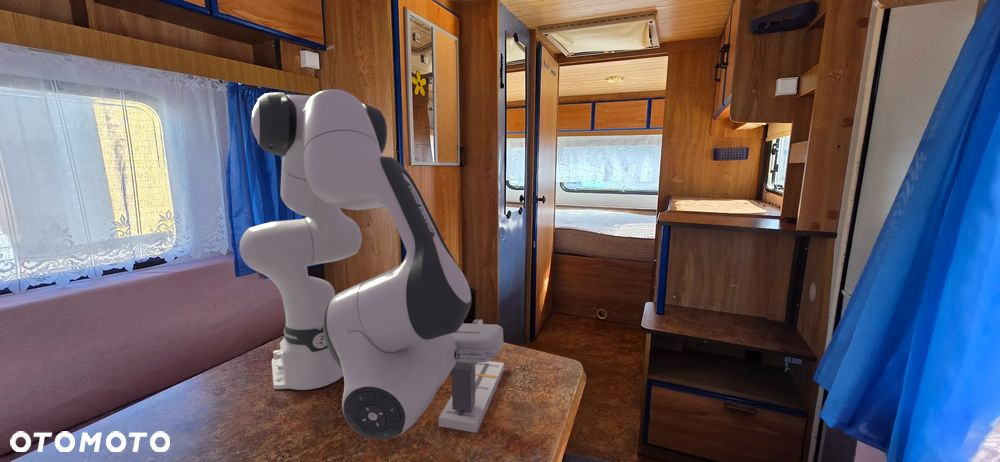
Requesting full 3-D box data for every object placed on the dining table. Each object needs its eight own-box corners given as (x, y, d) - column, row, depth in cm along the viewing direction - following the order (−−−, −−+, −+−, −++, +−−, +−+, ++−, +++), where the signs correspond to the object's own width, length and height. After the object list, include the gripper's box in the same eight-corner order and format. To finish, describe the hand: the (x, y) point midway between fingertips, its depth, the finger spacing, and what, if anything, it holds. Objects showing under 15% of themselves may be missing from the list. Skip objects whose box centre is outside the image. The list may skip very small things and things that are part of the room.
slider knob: (472, 414, 79) (472, 363, 77) (449, 410, 80) (448, 360, 78) (478, 402, 83) (478, 354, 81) (455, 398, 84) (455, 351, 82)
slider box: (476, 433, 77) (476, 423, 77) (438, 426, 79) (438, 416, 79) (504, 370, 100) (504, 362, 100) (474, 366, 102) (474, 358, 102)
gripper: (494, 337, 55) (510, 307, 69) (361, 331, 59) (400, 304, 73) (496, 379, 56) (510, 342, 70) (364, 371, 60) (402, 337, 73)
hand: (453, 322), depth 71 cm, fingers open, 8 cm apart
